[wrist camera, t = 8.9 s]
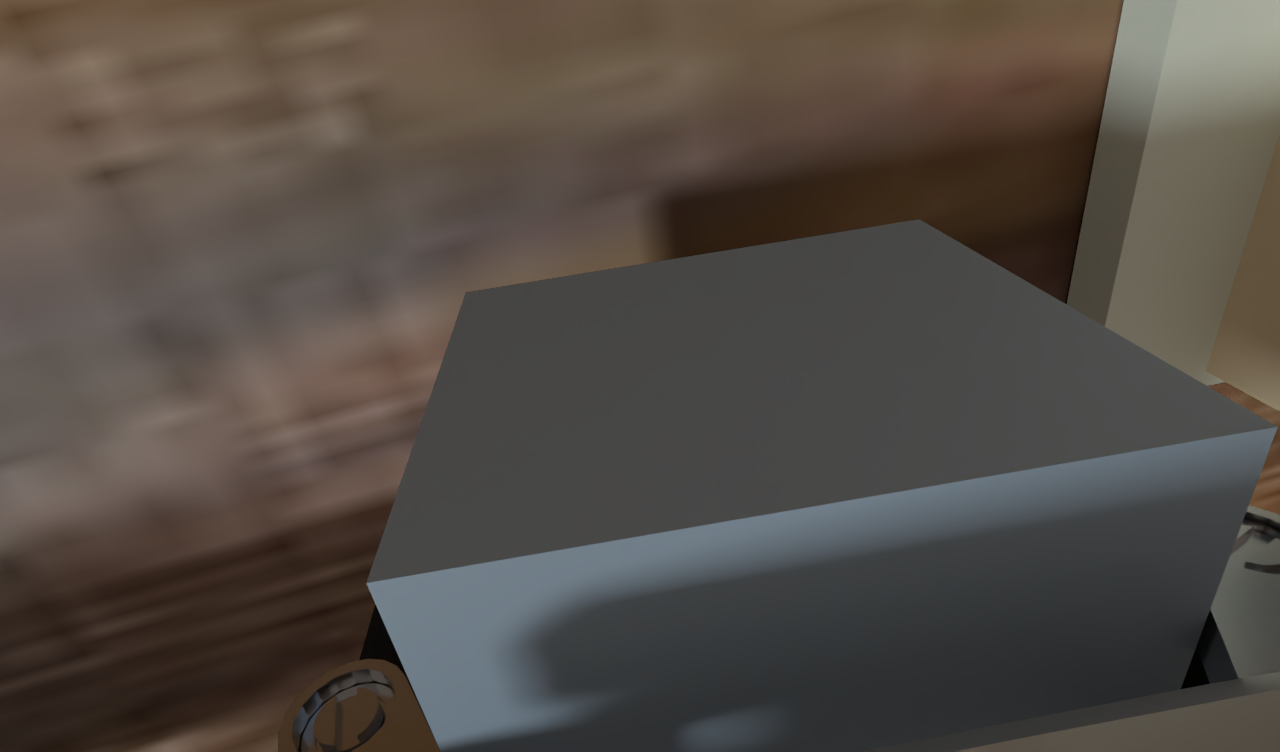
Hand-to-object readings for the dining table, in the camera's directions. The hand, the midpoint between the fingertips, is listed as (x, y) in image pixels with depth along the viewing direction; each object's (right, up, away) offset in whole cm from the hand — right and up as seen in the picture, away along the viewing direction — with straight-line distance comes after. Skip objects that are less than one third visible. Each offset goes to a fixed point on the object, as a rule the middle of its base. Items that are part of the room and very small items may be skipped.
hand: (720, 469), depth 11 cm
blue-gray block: (0, 0, +1) cm, 1 cm away
